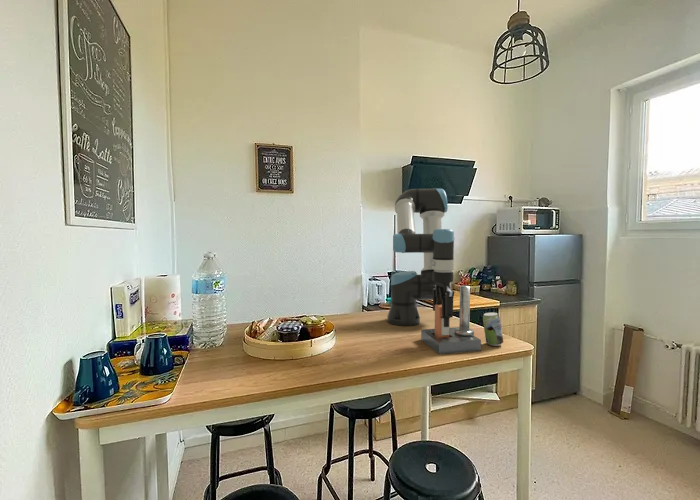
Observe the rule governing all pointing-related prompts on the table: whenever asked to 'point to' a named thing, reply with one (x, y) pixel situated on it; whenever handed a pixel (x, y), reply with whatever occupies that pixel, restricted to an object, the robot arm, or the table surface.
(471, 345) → the socket base with post
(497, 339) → the beverage can
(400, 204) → the robot arm
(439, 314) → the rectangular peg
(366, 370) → the table surface
